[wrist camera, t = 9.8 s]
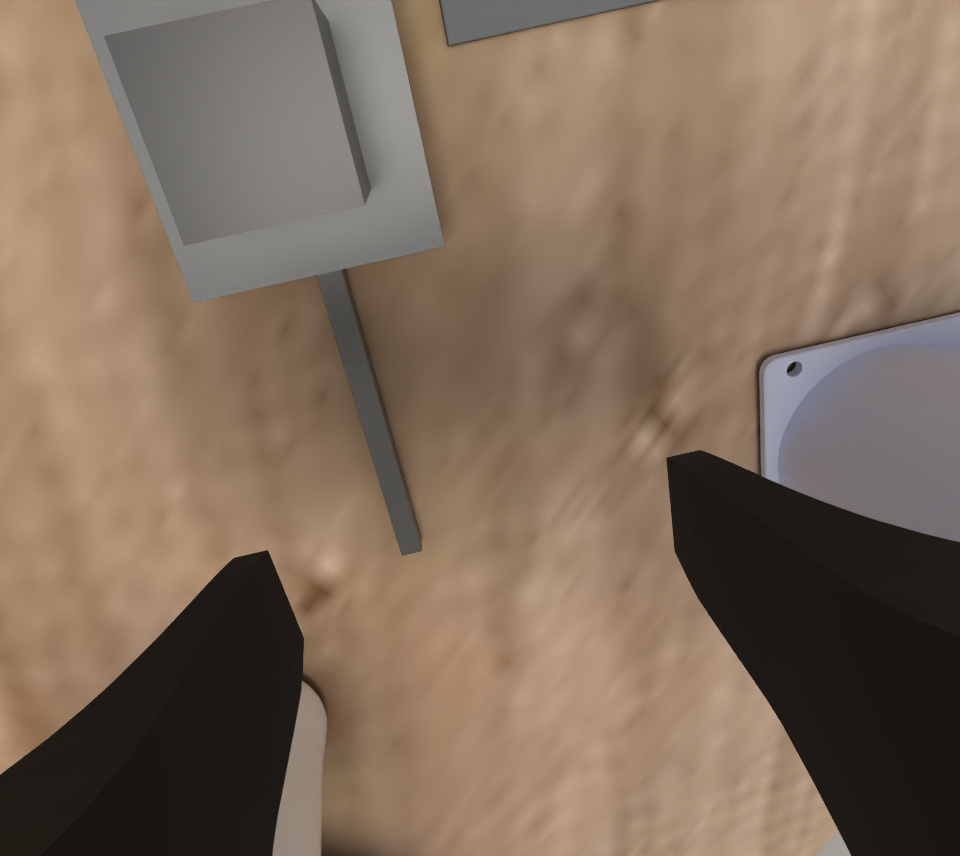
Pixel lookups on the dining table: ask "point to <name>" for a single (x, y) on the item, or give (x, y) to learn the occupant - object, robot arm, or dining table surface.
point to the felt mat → (516, 15)
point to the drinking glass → (303, 782)
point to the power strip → (317, 234)
